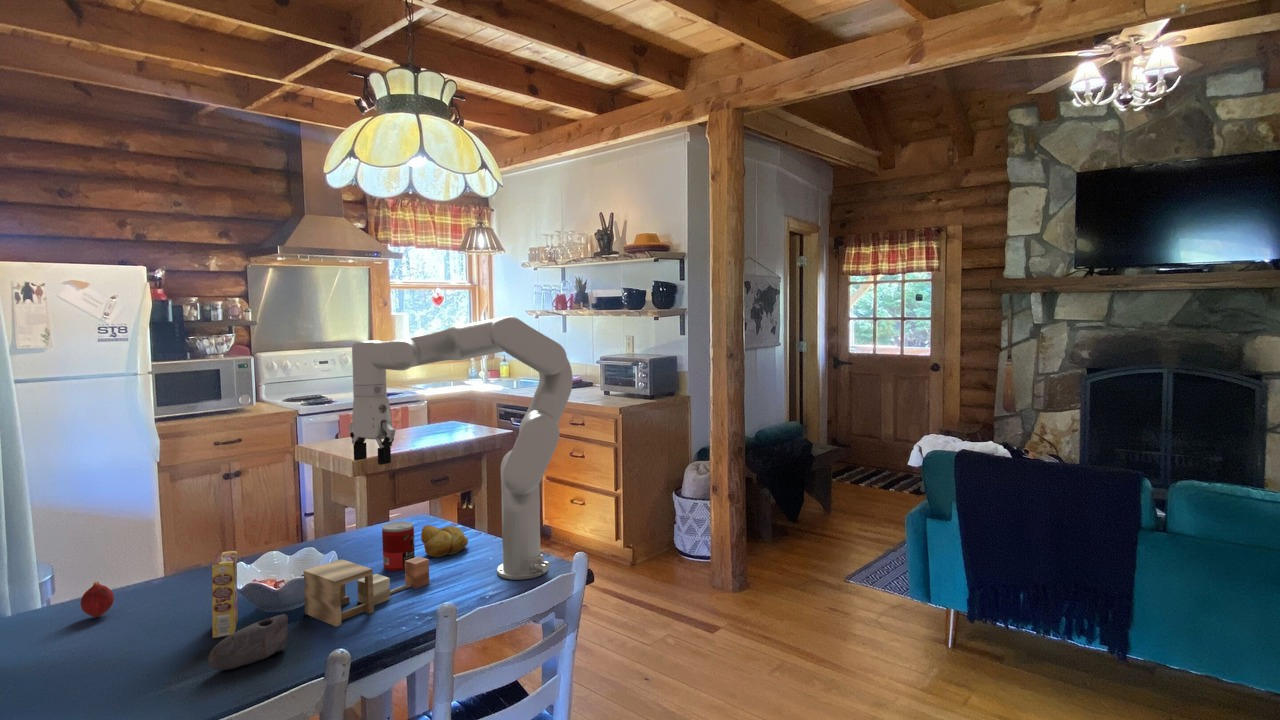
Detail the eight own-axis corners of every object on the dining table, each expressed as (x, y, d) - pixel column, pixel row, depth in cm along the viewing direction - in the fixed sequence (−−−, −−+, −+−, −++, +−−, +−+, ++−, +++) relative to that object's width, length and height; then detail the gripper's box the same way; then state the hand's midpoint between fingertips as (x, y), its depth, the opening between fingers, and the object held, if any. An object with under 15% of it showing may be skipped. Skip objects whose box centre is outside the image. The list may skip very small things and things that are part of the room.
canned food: (409, 571, 181) (408, 529, 181) (378, 571, 181) (377, 529, 181) (419, 561, 189) (418, 521, 188) (389, 561, 189) (388, 521, 188)
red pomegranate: (120, 614, 156) (118, 579, 156) (91, 624, 151) (89, 588, 150) (105, 610, 158) (103, 575, 158) (75, 620, 153) (73, 584, 153)
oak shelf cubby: (373, 612, 156) (372, 569, 155) (336, 626, 148) (334, 581, 148) (342, 600, 163) (341, 559, 162) (305, 613, 155) (303, 570, 155)
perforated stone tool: (214, 681, 126) (212, 643, 126) (203, 672, 130) (201, 635, 129) (298, 650, 138) (297, 616, 138) (286, 643, 141) (285, 609, 141)
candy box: (236, 635, 145) (233, 562, 144) (212, 639, 143) (209, 565, 142) (239, 618, 153) (237, 549, 152) (216, 622, 151) (213, 552, 150)
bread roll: (462, 544, 204) (461, 516, 203) (476, 552, 196) (475, 524, 196) (418, 553, 196) (417, 524, 196) (430, 562, 188) (429, 532, 188)
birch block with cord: (430, 583, 173) (430, 559, 172) (371, 606, 159) (370, 580, 159) (417, 579, 175) (417, 556, 175) (358, 601, 162) (357, 576, 162)
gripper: (405, 391, 168) (407, 462, 169) (362, 388, 178) (364, 455, 179) (378, 394, 162) (380, 468, 163) (335, 391, 172) (337, 460, 173)
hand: (372, 461), depth 171 cm, fingers open, 9 cm apart
